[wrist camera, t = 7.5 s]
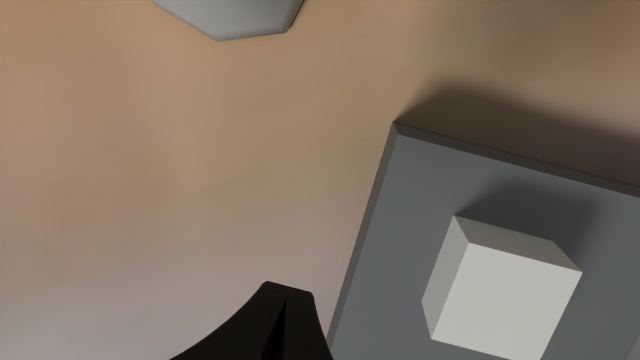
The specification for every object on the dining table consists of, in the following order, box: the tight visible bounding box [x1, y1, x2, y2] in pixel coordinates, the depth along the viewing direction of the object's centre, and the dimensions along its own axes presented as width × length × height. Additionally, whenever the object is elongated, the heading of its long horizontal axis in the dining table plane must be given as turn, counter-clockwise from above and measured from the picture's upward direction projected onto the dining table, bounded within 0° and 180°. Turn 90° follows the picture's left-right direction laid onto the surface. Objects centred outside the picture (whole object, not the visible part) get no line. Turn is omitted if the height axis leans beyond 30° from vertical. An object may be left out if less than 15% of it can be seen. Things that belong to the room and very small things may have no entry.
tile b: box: [421, 215, 583, 360], centre depth 17 cm, size 4×4×2 cm
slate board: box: [326, 122, 640, 360], centre depth 21 cm, size 16×12×2 cm
